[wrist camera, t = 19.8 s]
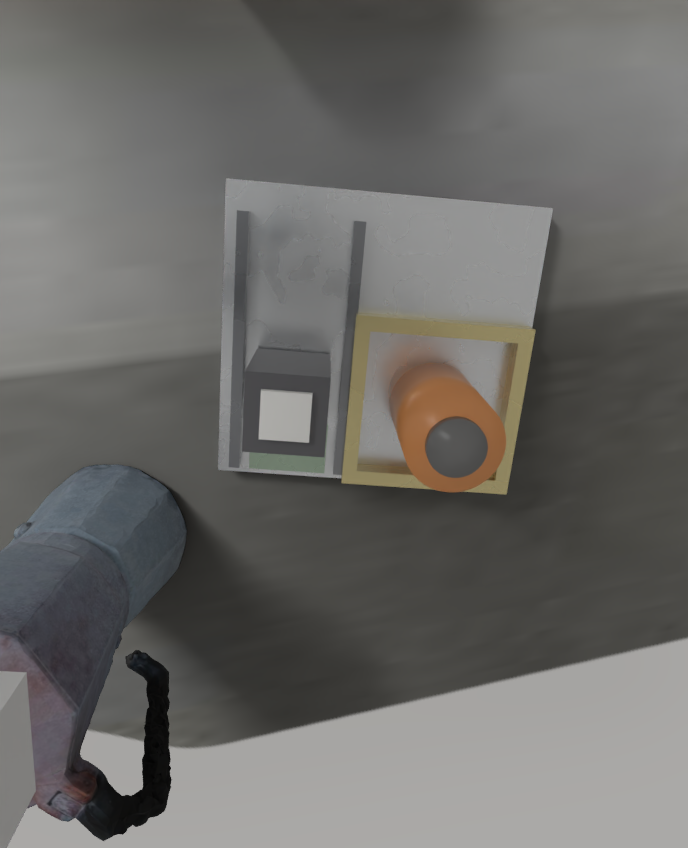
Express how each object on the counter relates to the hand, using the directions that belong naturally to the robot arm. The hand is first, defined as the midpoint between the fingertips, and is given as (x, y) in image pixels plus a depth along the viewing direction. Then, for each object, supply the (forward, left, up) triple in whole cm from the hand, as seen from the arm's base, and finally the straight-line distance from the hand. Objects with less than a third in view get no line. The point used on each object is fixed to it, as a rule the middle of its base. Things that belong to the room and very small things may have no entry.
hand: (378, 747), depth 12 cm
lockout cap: (0, +5, -25) cm, 26 cm away
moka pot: (+10, -13, -27) cm, 32 cm away
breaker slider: (0, -3, -25) cm, 25 cm away
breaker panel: (-3, +2, -27) cm, 27 cm away
